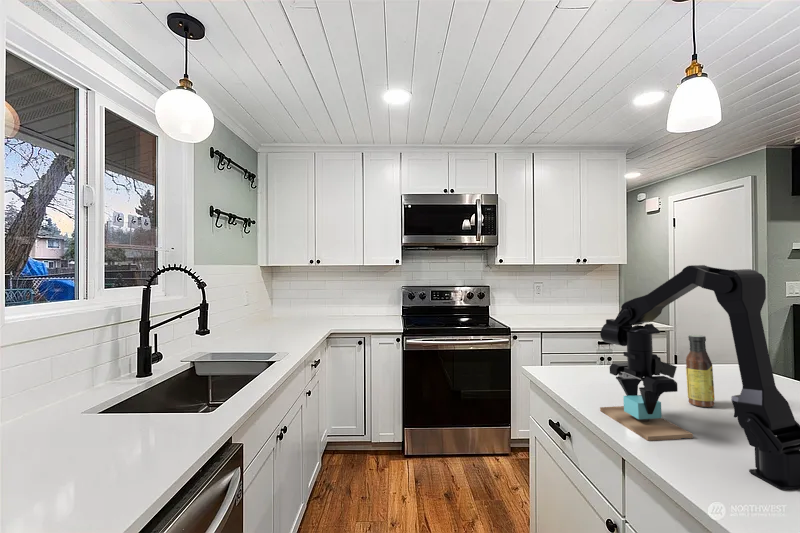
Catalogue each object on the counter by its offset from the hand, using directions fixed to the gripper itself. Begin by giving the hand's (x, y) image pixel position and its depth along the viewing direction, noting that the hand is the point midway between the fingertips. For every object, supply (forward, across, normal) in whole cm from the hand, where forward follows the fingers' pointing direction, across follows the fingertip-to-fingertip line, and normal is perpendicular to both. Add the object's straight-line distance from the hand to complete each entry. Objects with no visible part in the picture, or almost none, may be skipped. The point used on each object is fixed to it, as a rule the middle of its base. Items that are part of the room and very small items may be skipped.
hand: (641, 409), depth 103 cm
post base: (+4, 0, 0) cm, 4 cm away
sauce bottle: (+4, +11, -25) cm, 28 cm away
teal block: (+1, 0, 0) cm, 1 cm away
